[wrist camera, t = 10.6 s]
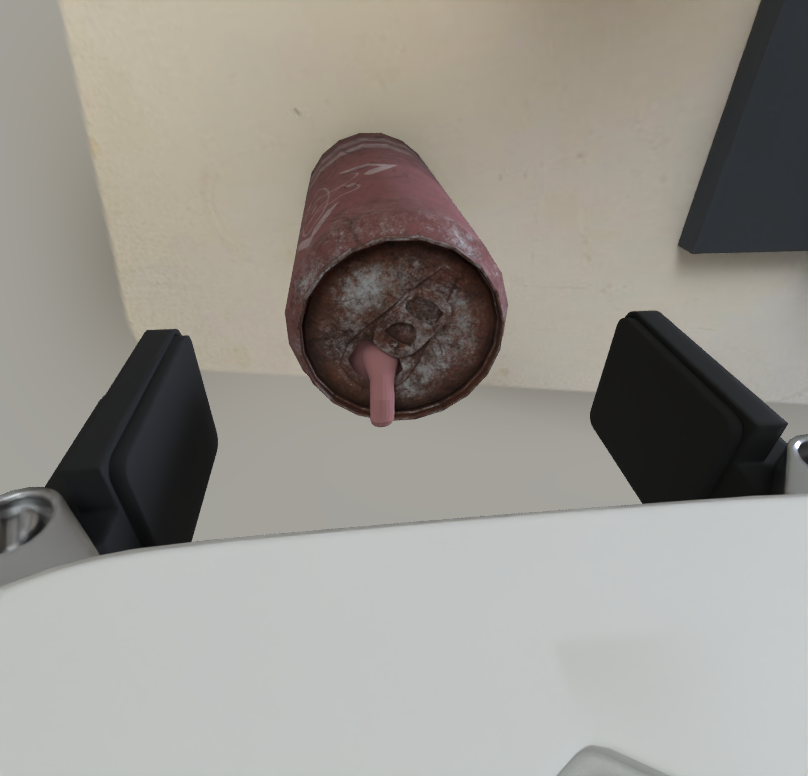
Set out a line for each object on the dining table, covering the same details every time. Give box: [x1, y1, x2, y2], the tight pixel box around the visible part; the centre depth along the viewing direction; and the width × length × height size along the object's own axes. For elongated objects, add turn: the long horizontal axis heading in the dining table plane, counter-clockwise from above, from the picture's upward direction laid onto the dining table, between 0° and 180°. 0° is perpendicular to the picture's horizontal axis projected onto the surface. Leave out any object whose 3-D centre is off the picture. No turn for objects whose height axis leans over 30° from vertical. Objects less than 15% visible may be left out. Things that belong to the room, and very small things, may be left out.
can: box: [285, 133, 508, 427], centre depth 18 cm, size 6×6×14 cm
